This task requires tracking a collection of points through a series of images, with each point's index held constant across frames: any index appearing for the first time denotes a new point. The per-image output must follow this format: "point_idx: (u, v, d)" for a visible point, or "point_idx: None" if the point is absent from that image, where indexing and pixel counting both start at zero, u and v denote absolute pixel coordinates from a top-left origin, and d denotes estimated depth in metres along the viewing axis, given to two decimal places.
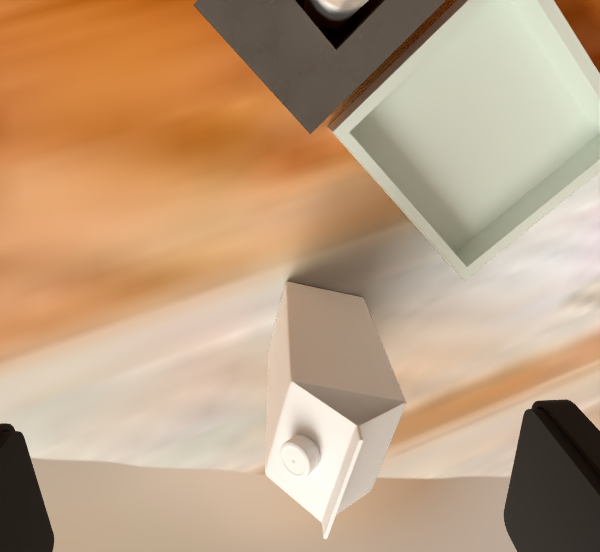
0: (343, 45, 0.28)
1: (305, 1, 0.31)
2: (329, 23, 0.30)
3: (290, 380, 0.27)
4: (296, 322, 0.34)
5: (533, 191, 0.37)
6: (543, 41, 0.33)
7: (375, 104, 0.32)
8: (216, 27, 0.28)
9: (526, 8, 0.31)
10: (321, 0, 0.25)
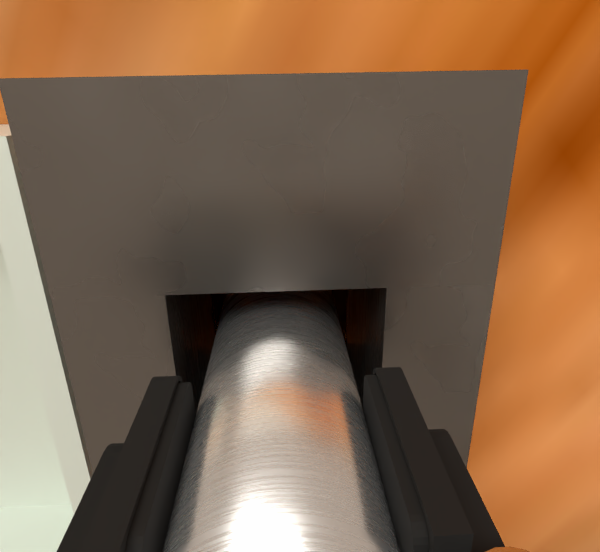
0: (162, 314, 0.11)
1: None
2: None
3: None
4: None
5: None
6: None
7: (11, 268, 0.12)
8: (440, 77, 0.09)
9: (38, 533, 0.18)
10: (273, 386, 0.08)
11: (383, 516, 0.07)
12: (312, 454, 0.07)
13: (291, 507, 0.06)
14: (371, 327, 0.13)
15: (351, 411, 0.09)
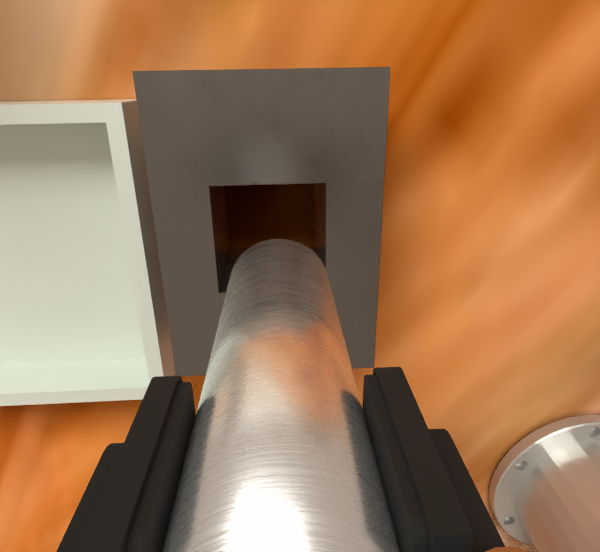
0: (207, 197, 0.20)
1: (307, 265, 0.15)
2: (239, 285, 0.14)
3: None
4: None
5: None
6: (70, 368, 0.28)
7: (118, 179, 0.21)
8: (347, 71, 0.18)
9: (113, 371, 0.27)
10: (273, 385, 0.08)
11: (383, 515, 0.07)
12: (311, 452, 0.07)
13: (292, 505, 0.06)
14: (322, 215, 0.22)
15: (351, 410, 0.09)
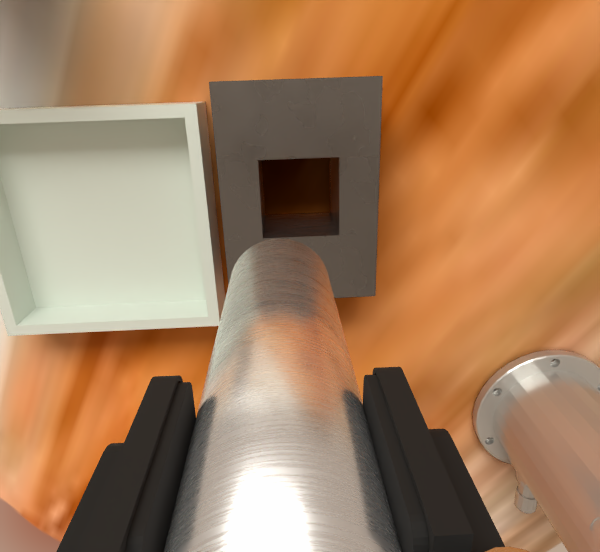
0: (256, 168, 0.29)
1: (308, 265, 0.15)
2: (239, 285, 0.14)
3: None
4: None
5: (12, 233, 0.34)
6: (144, 306, 0.37)
7: (191, 157, 0.30)
8: (353, 79, 0.27)
9: (178, 308, 0.36)
10: (275, 385, 0.08)
11: (385, 515, 0.07)
12: (313, 452, 0.07)
13: (293, 506, 0.06)
14: (336, 182, 0.31)
15: (352, 410, 0.09)
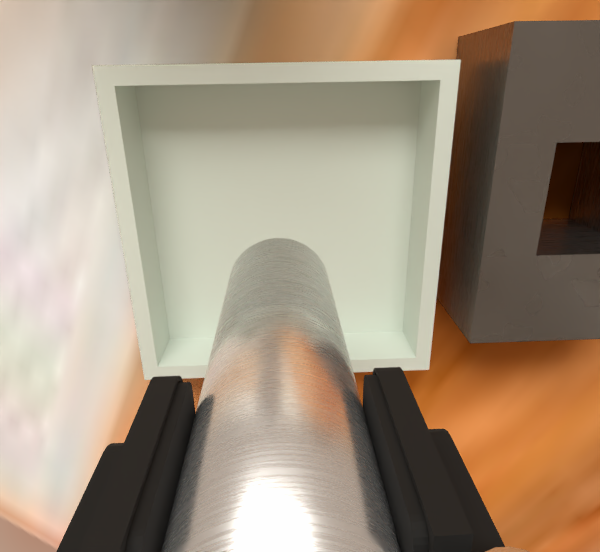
0: (551, 154, 0.20)
1: (307, 264, 0.15)
2: (238, 285, 0.14)
3: None
4: None
5: (153, 241, 0.25)
6: None
7: (438, 139, 0.21)
8: None
9: (364, 343, 0.27)
10: (273, 384, 0.08)
11: (384, 515, 0.07)
12: (312, 453, 0.07)
13: (292, 507, 0.06)
14: None
15: (351, 409, 0.09)
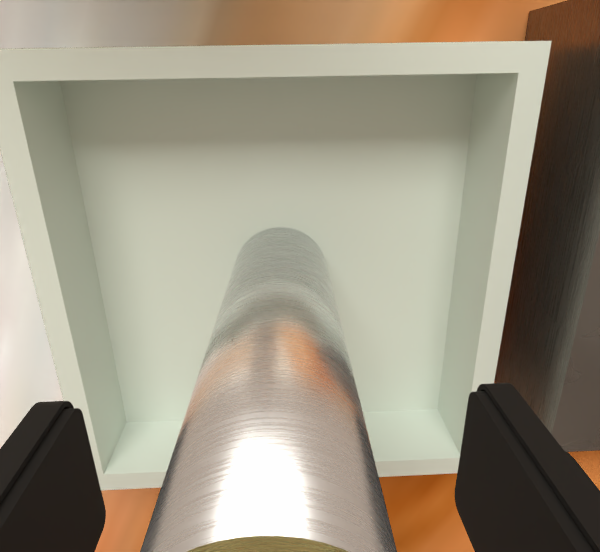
0: None
1: (306, 248, 0.16)
2: (242, 264, 0.15)
3: None
4: None
5: (98, 299, 0.18)
6: None
7: (509, 161, 0.14)
8: None
9: (388, 431, 0.20)
10: (269, 330, 0.10)
11: (360, 428, 0.08)
12: (300, 376, 0.08)
13: (279, 408, 0.07)
14: None
15: (337, 355, 0.10)
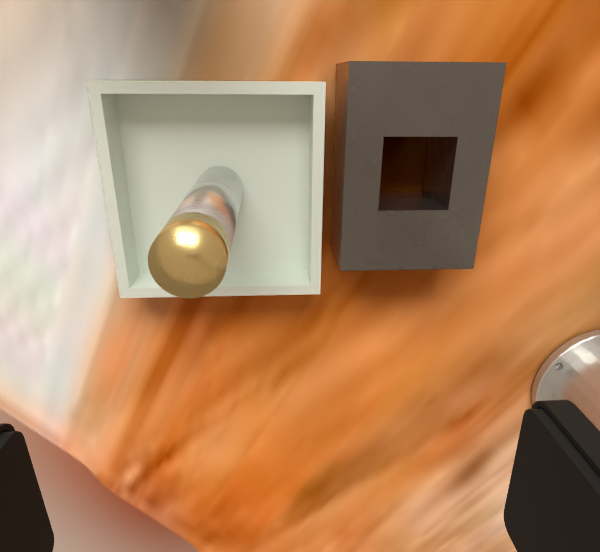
0: (381, 144, 0.31)
1: (229, 174, 0.34)
2: (198, 179, 0.33)
3: None
4: None
5: (127, 200, 0.36)
6: (245, 275, 0.39)
7: (314, 133, 0.32)
8: (479, 64, 0.29)
9: (277, 277, 0.38)
10: (203, 190, 0.28)
11: (227, 212, 0.26)
12: (210, 198, 0.26)
13: (201, 201, 0.25)
14: (446, 161, 0.33)
15: (227, 200, 0.28)
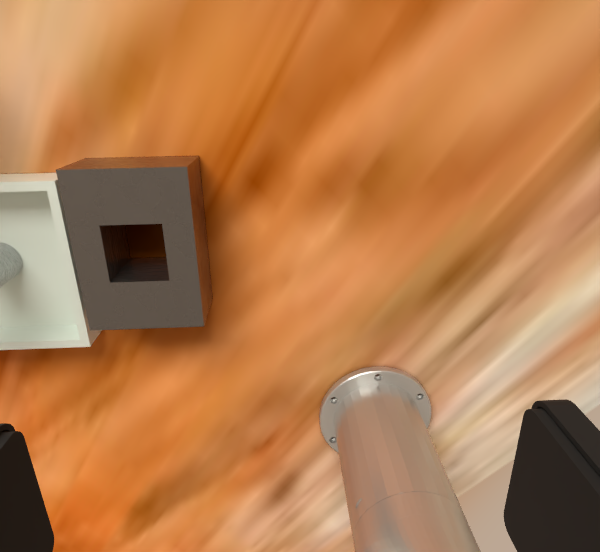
0: (99, 231, 0.38)
1: None
2: None
3: None
4: None
5: None
6: (34, 330, 0.46)
7: (54, 220, 0.39)
8: (165, 168, 0.36)
9: (60, 331, 0.45)
10: None
11: None
12: None
13: None
14: None
15: None
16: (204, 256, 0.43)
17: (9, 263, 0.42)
